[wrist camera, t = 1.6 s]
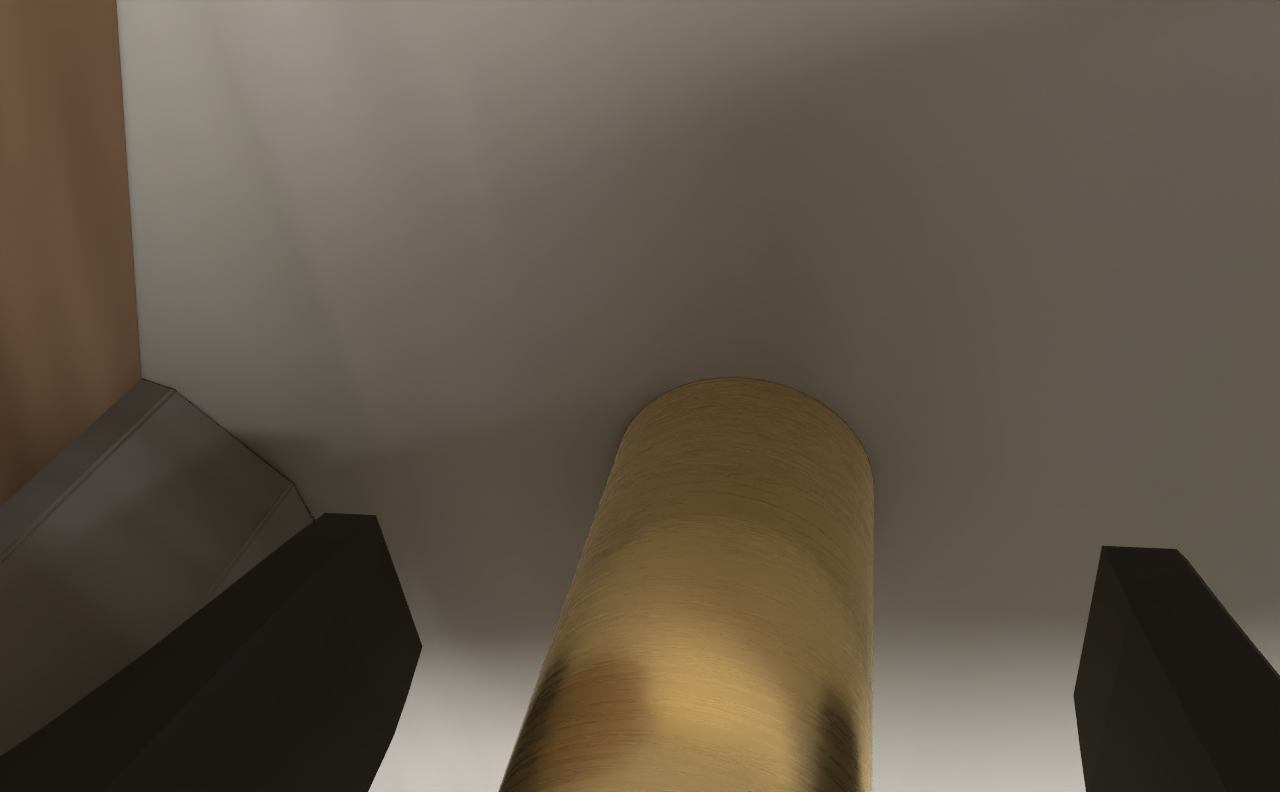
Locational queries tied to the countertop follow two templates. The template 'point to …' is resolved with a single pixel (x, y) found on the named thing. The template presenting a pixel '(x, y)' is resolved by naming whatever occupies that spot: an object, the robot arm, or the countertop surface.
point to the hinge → (95, 397)
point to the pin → (716, 608)
